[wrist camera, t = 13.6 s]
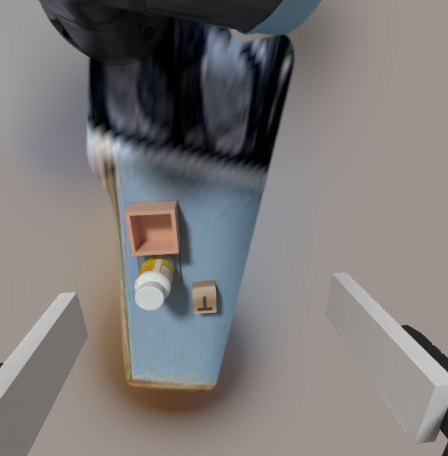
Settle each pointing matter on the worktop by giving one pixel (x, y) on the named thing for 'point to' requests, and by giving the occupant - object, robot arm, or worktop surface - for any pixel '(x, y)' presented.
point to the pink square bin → (153, 228)
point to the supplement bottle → (154, 281)
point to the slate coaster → (176, 266)
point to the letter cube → (204, 297)
